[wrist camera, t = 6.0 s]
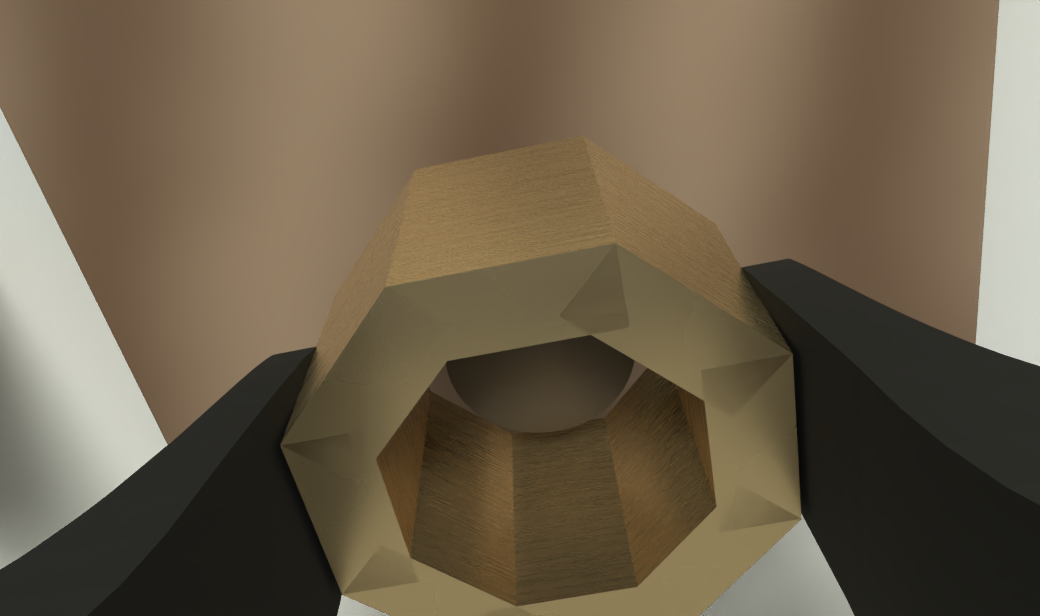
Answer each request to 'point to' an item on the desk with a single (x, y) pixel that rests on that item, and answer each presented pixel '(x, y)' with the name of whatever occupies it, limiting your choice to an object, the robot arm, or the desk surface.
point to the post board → (477, 132)
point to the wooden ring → (552, 455)
